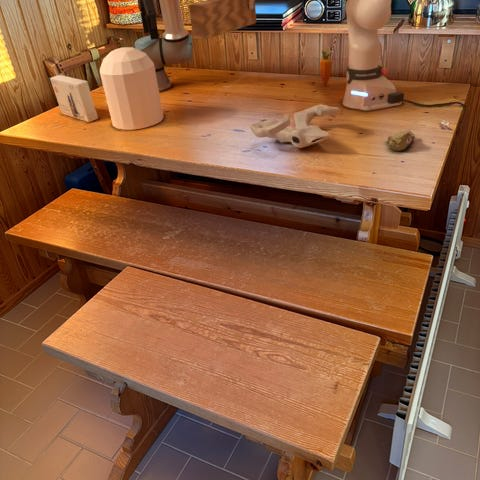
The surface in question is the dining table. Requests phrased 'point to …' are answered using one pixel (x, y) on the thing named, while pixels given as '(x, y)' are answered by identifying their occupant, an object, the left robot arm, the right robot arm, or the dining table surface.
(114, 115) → the container
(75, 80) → the skincare box
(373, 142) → the dining table surface
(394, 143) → the rock
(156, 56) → the left robot arm
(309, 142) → the beige branched piece
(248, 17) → the box
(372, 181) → the dining table surface
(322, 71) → the carrot
